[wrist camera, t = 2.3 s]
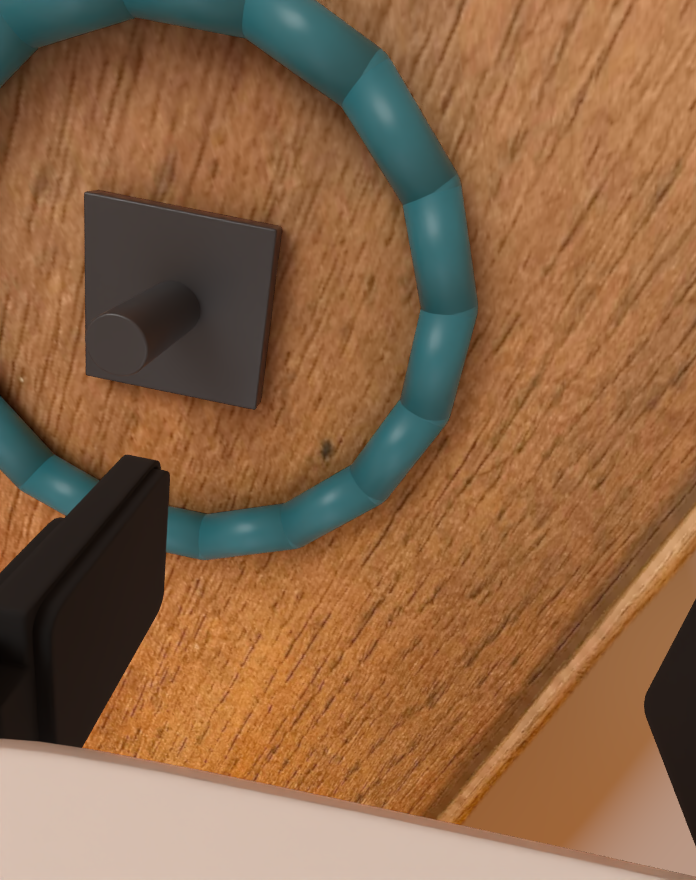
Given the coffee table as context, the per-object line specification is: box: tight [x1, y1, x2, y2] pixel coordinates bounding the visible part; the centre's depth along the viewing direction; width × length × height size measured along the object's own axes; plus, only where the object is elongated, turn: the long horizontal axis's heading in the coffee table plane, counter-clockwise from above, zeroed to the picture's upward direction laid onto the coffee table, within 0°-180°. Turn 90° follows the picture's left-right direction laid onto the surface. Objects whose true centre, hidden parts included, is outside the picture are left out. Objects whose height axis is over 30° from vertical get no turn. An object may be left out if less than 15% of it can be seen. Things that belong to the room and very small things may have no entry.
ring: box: [0, 0, 478, 560], centre depth 24 cm, size 22×22×2 cm
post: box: [84, 190, 282, 410], centre depth 22 cm, size 7×7×6 cm
